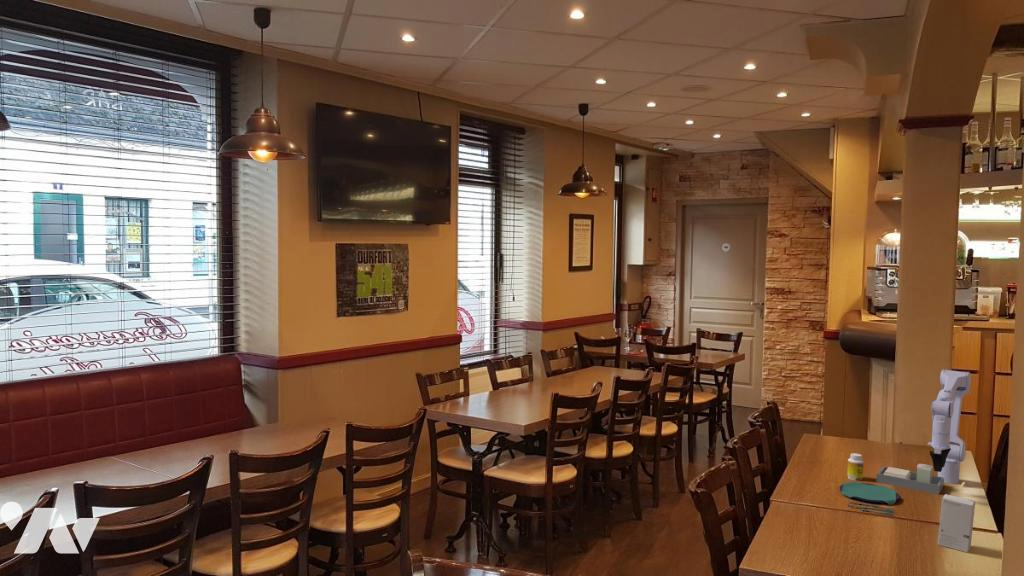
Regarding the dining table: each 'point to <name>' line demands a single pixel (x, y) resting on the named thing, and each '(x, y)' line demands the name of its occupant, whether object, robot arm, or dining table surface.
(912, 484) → the tote
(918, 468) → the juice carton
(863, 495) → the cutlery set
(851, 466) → the supplement bottle
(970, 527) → the skincare box
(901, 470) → the beige flat block
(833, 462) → the dining table surface
